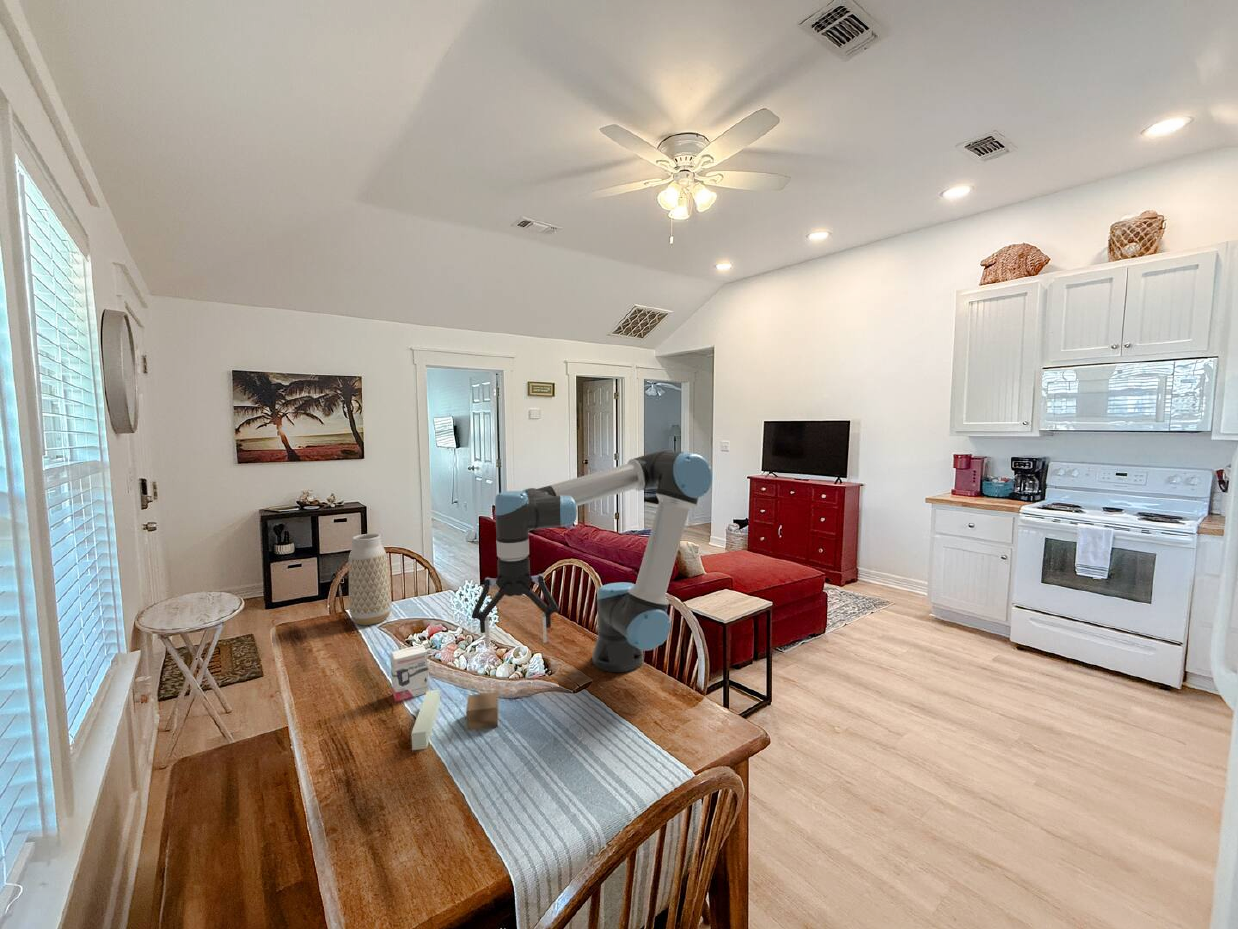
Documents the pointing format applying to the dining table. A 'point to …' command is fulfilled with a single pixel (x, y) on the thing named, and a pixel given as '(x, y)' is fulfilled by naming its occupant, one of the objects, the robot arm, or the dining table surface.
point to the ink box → (409, 672)
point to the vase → (368, 580)
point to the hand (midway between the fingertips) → (516, 642)
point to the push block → (482, 711)
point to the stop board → (425, 720)
